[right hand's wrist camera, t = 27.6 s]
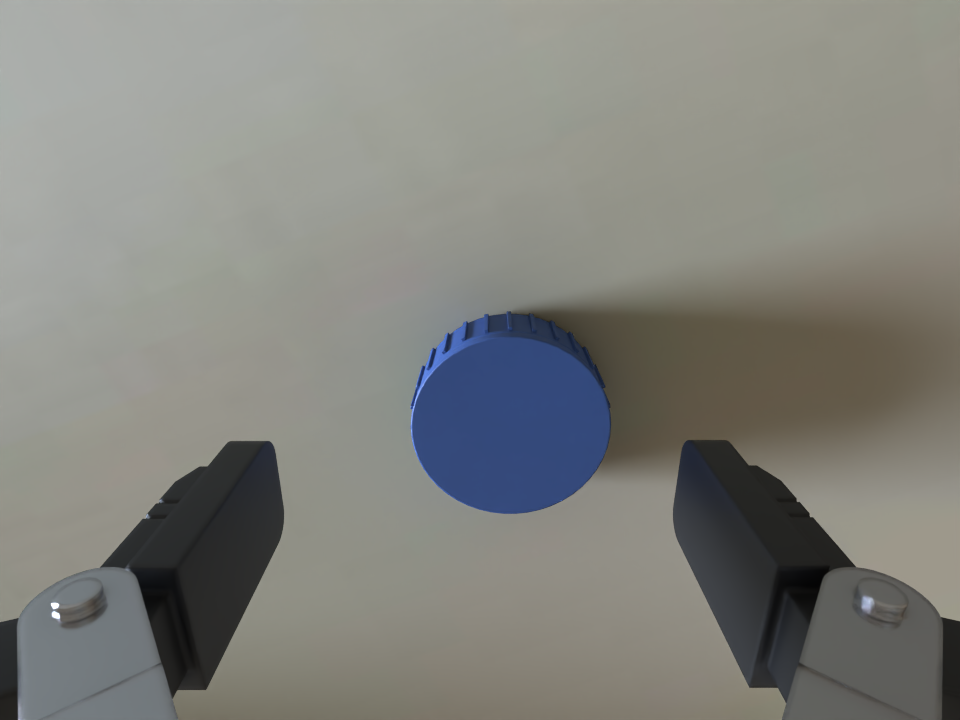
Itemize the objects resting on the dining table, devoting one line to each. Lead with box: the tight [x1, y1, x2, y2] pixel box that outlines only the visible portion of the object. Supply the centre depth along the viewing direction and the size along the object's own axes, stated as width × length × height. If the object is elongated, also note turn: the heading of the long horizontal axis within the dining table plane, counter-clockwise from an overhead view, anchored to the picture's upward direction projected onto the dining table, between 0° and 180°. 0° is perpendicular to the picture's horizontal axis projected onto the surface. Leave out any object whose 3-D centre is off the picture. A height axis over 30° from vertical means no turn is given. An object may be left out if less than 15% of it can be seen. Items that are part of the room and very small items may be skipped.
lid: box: [411, 312, 611, 514], centre depth 15 cm, size 5×5×2 cm
